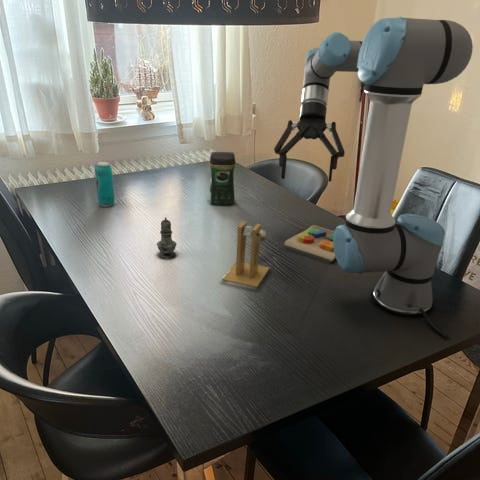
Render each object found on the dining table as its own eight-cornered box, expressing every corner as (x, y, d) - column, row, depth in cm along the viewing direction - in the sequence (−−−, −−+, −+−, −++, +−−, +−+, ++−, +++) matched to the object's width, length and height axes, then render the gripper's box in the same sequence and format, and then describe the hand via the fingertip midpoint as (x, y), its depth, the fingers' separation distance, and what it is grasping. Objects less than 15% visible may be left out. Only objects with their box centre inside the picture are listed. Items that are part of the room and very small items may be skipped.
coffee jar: (234, 198, 192) (236, 149, 182) (234, 206, 186) (236, 155, 175) (209, 197, 192) (209, 148, 181) (208, 205, 185) (209, 154, 175)
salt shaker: (173, 260, 147) (172, 222, 141) (154, 257, 148) (152, 219, 141) (179, 251, 152) (178, 214, 145) (160, 249, 153) (159, 212, 146)
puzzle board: (357, 243, 163) (359, 233, 161) (332, 264, 150) (334, 254, 148) (309, 229, 171) (311, 220, 169) (282, 248, 158) (283, 238, 156)
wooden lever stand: (237, 265, 147) (239, 214, 138) (269, 272, 144) (274, 220, 135) (222, 283, 137) (223, 230, 128) (256, 291, 135) (260, 237, 126)
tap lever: (254, 241, 147) (257, 228, 146) (266, 243, 146) (268, 231, 145) (240, 236, 132) (242, 223, 132) (252, 239, 131) (255, 225, 131)
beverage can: (98, 202, 183) (93, 161, 174) (114, 201, 184) (110, 160, 176) (99, 208, 178) (94, 166, 170) (115, 206, 180) (111, 165, 171)
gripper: (356, 113, 146) (349, 184, 146) (272, 110, 150) (265, 180, 150) (358, 101, 139) (350, 177, 139) (269, 99, 143) (262, 172, 143)
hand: (306, 179), depth 144 cm, fingers open, 13 cm apart
